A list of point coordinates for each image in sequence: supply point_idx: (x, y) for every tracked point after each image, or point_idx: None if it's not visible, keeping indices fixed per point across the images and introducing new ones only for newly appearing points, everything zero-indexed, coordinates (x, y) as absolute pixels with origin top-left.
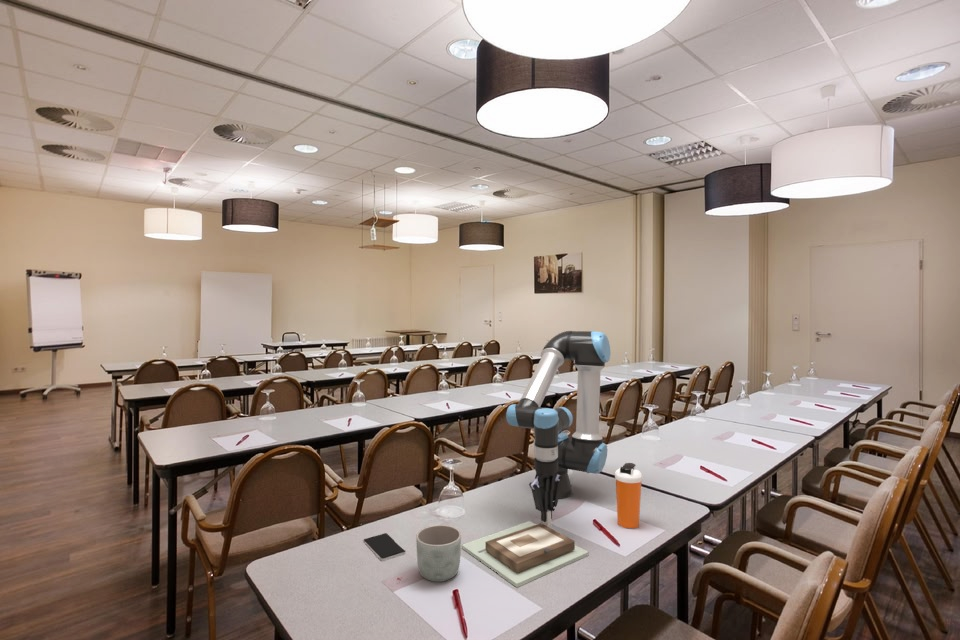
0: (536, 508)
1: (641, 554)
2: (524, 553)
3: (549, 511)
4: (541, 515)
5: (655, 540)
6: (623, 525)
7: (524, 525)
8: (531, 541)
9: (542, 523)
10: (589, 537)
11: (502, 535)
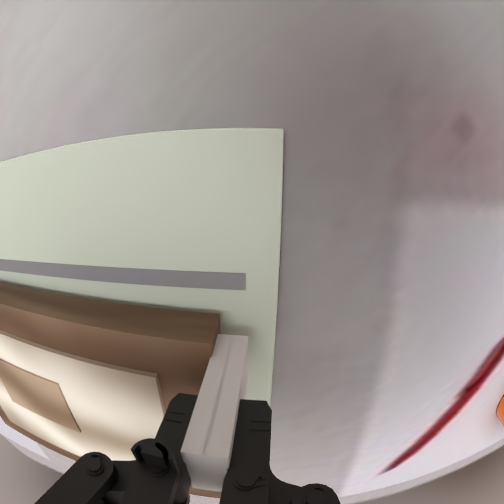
0: (83, 467)
1: (372, 498)
2: (22, 425)
3: (217, 489)
4: (161, 431)
5: (455, 466)
6: (501, 408)
7: (196, 162)
8: (54, 419)
9: (209, 363)
10: (385, 421)
11: (28, 199)
